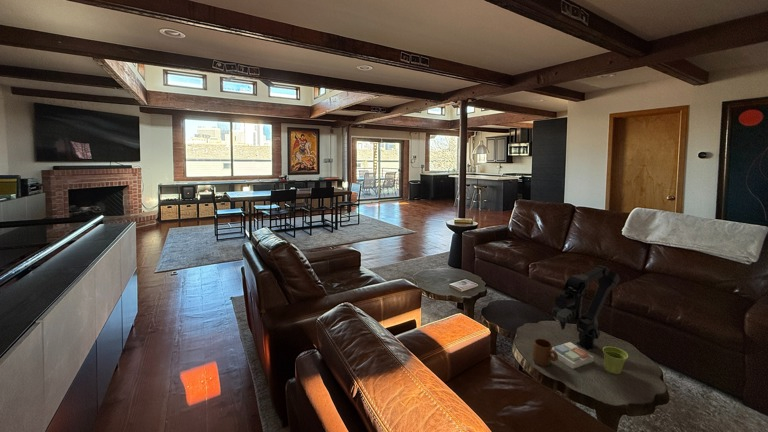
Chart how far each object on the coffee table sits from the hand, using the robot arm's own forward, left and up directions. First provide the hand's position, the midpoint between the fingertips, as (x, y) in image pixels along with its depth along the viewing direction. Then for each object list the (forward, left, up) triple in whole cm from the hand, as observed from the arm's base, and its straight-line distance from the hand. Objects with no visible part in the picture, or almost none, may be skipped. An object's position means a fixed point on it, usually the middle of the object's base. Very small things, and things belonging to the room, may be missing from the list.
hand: (571, 334), depth 170 cm
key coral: (0, +6, -8) cm, 10 cm away
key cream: (0, 0, -8) cm, 8 cm away
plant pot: (-7, +17, -10) cm, 21 cm away
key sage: (+5, +6, -8) cm, 11 cm away
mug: (+17, +2, -10) cm, 20 cm away
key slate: (+5, 0, -8) cm, 9 cm away
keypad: (+2, +3, -10) cm, 11 cm away
